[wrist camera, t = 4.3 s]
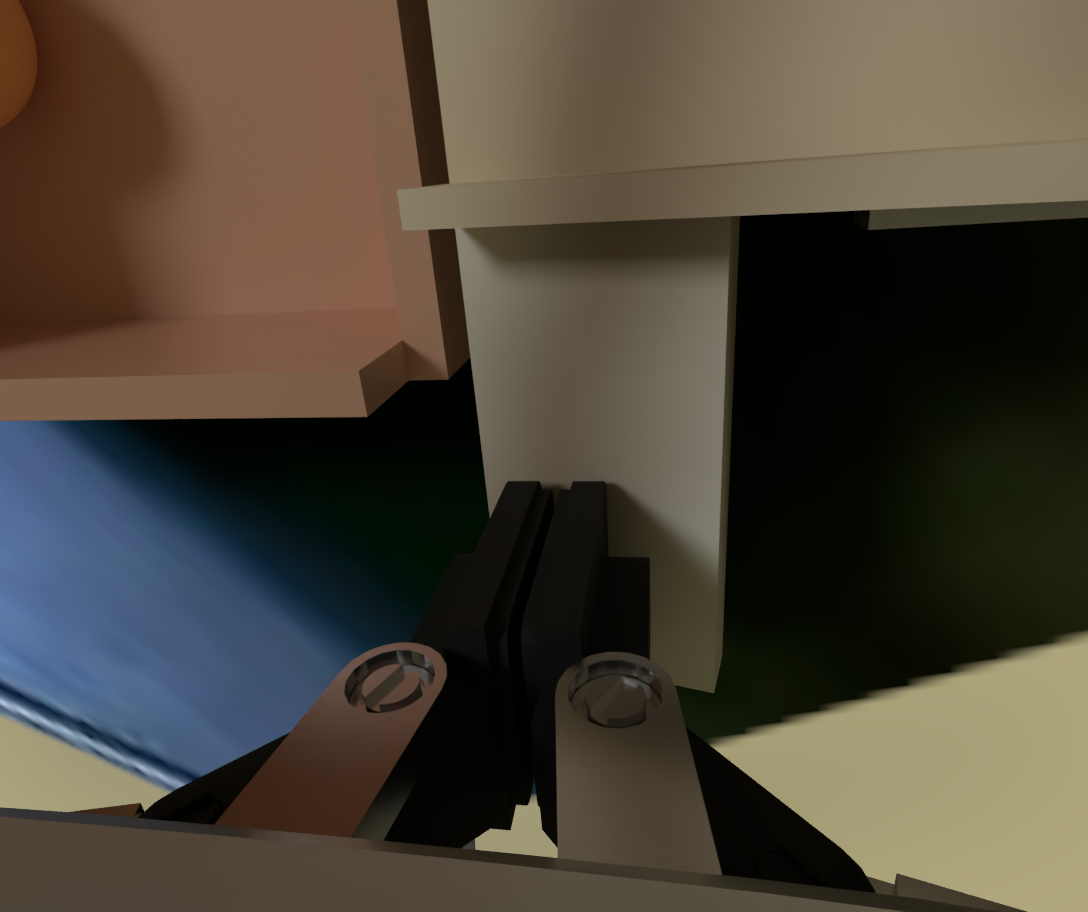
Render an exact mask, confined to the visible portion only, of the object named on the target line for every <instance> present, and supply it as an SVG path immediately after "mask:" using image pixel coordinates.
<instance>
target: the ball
mask: <svg viewBox="0 0 1088 912" xmlns="http://www.w3.org/2000/svg"><path fill="white" fill-rule="evenodd" d="M36 75H37V51H36V44H35V40H34V36H33V32H32V29H31V26H30V24H29V21H28V18H27V16H26V14H25V12H24V10H23V8H22V6H21V4H20V2H19V0H0V128H1V127H3V126H4V125H6V124H8V123H9V122H10V121H11V120H12V119H14V118H15V117H16V116H17V115H18V114H19V113H20V112H21V110H22V109H23V108H24V107H25V105H26V103H27V102H28V100H29V98H30V96H31V94H32V91H33V88H34V85H35V81H36Z"/></svg>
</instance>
